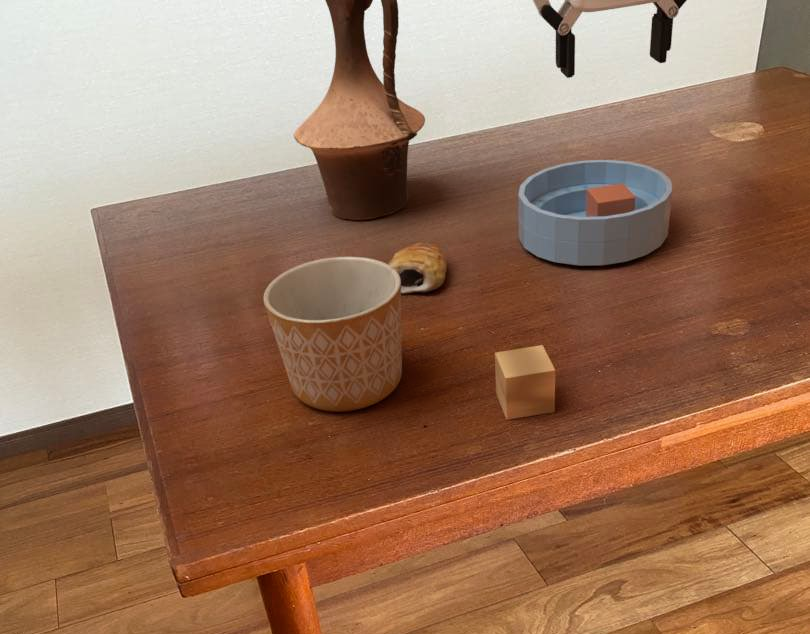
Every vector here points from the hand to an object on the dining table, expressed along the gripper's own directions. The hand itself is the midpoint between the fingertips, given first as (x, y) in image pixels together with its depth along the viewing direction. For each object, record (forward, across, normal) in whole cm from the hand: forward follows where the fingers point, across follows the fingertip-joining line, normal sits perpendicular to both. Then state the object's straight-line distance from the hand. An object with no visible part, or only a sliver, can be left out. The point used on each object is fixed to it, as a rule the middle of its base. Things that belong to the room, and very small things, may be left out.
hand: (612, 67), depth 92 cm
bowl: (+19, -1, +2) cm, 19 cm away
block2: (+19, +1, +2) cm, 19 cm away
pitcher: (+19, -26, +22) cm, 39 cm away
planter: (+19, -33, -22) cm, 44 cm away
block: (+19, -17, -30) cm, 39 cm away
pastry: (+19, -23, -2) cm, 30 cm away
